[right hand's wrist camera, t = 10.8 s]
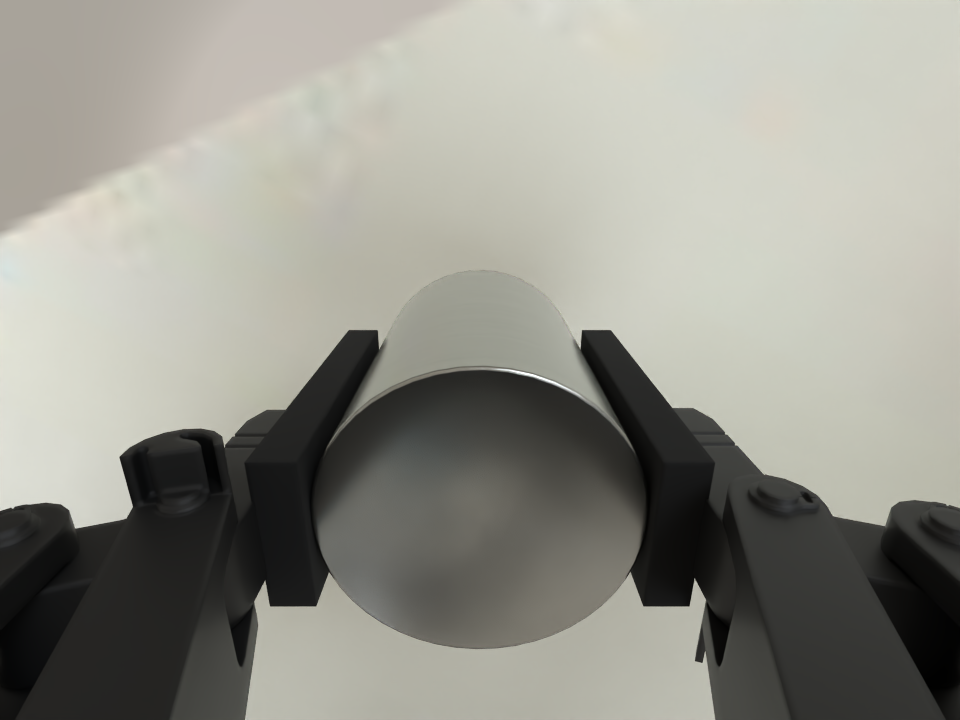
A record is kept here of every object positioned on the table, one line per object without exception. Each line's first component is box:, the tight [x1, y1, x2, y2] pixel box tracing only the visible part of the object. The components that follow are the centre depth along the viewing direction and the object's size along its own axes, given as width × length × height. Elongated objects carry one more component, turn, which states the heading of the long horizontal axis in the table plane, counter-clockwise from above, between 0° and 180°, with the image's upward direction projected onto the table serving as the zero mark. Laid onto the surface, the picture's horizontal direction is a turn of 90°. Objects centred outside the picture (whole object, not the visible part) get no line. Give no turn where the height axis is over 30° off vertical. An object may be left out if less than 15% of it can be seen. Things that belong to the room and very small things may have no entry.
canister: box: [311, 270, 649, 649], centre depth 12 cm, size 5×5×7 cm
